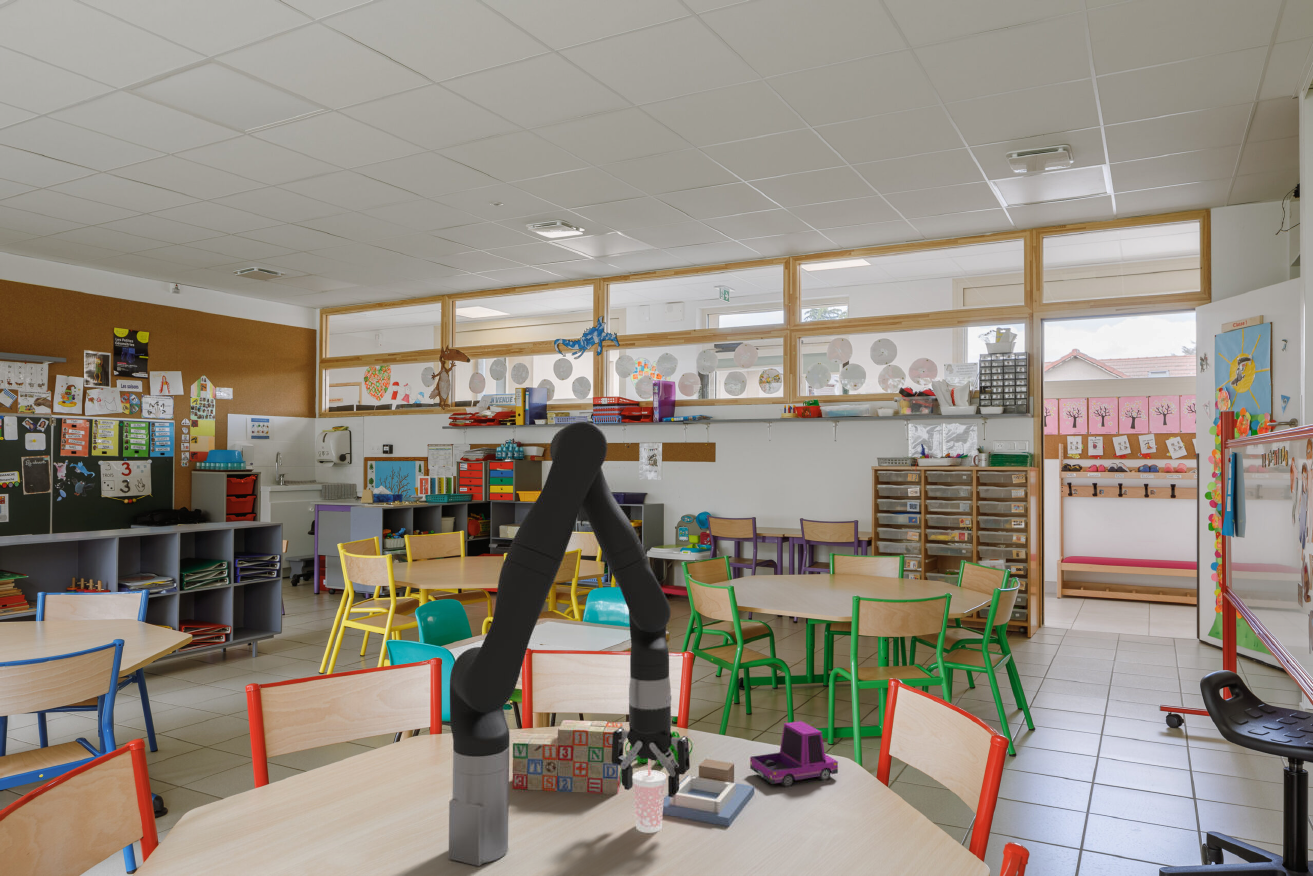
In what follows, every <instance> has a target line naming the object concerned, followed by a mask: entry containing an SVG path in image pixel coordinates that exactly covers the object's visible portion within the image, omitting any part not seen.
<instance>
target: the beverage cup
mask: <svg viewBox="0 0 1313 876" xmlns="http://www.w3.org/2000/svg"><path fill="white" fill-rule="evenodd" d="M651 764H652V760H651V759H648V762H647V769H645V770H640V771H636V772H634V773H633V776H632V779H633V793H634V794H633V795H634V810H635V812H634V813H635V815H634V816H635V828H636V830H638V831H639V832H642V833H646V834H648V833H649V834H651V833H657V832H659V831H660V830H662V829H663V828H662V827H663V815H664V814H663V801H664V798H665V786H666V782H667V775H666V774H665V773H664V772H663V771H659V770H654V769H653V770H652V767H651V766H652V765H651Z"/></svg>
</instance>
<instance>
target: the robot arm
mask: <svg viewBox="0 0 1313 876" xmlns="http://www.w3.org/2000/svg"><path fill="white" fill-rule="evenodd" d="M607 453H608V442H607V438H606V436H605V434H604V432H603V431H602V429H601V428H600V427H599V426H598V425H596V424H595V423H593V422H591V421H589V422H588V421H577V422H573V423H569V425H567V426H565V427H563V428H561V429H560V430H559V431H557V433H555V435H554V436H553V438H552V440H551V442H550V447H549V455H550V458H551V461H552V463H551V465H550V468H549V471H548V475H547V478H546V480H545V483H544V485H543V488H542V489H541V492H540V493H539V495H538V497H537V499H536V500H535V502H534V504H533V505H532V506H531V508H530V510H528V513H527V514H526V515H525V517H524V519H523V520H522V523H520V525H519V527H518V528H517V531H516V533H515V535H514V537H513V539H512V540H511V541H512V542H511V543H510V546H509V549H508V551H507V553H506V556H505V558H504V560H503V563H502V566H501V570H500V573H499V576H498V582H497V583H498V584H497V588H496V590H497V591H496V597H495V606H494V611H493V617H492V620H491V623H490V627H489V629H488V631H487V633H486V635H485V638H484V640H483V641H482V642H483V643H482V645H480V646H476V647H475V646H474V647H471V648H468V649H466V650H464V652H462V653H461V654H459V655H458V657H457V658H456V659H455V661H454V662H453V665H452V667H451V672H450V677H449V721H450V722H449V723H450V731H451V734H452V735H451V736H452V740H453V741H452V743H453V745H452V746H453V747H452V796H451V797H452V799H450V800H449V805H448V806H449V807H448V811H449V813H448V860H452V861H456V862H461V863H465V864H468V865H472V866H473V865H474V866H477V867H480V866H482V865H483V864H486V863H490V862H493V861H496V860H498V859H500V858H502V857H504V856H505V855H506V853H508V850H509V813H510V812H509V811H510V810H509V805H510V804H509V803H510V802H509V800H510V799H509V798H510V797H509V795H510V789H509V788H510V728H509V725H508V723H507V720H506V716H505V711H504V706H505V705H506V704H507V703H508V702H509V701H510V699H511V697H512V696H513V694H514V692H515V689H516V687H517V684H518V682H519V681H518V680H519V678H520V674H521V670H522V667H523V663H524V660H525V657H526V653H527V651H528V650H527V649H528V647H529V644H530V640H531V637H532V635H533V632H534V629H535V627H536V625H537V623H538V620H539V618H540V615H541V614H542V610H543V608H544V606H545V603H546V600H547V598H548V596H549V594H550V591H551V588H552V587H553V584H554V582H555V580H556V578H557V574H558V572H559V569H560V568H561V564H562V562H563V560H564V558H565V554H566V551H567V549H568V547H569V543H570V540H571V537H572V534H573V531H574V528H575V525H576V522H577V520H578V516H579V513H580V510H583V513H584V515H585V517H586V519H587V521H588V523H589V525H590V528H591V530H592V532H593V534H594V537H595V539H596V541H597V544H598V545H599V547H600V551H601V552H602V554H603V557H604V560H605V561H606V564H607V566H608V568H609V570H610V572H611V574H612V577H613V578H614V580H615V582H616V583H617V584H618V586H619V588H620V592H621V594H622V597H623V599H624V601H625V604H626V606H627V610H628V619H629V620H628V622H629V634H630V659H629V661H630V662H629V667H630V669H629V672H630V673H629V675H630V676H629V679H630V680H629V684H628V723H629V724H628V725H629V726H628V727H629V730H625V729H624V728H623V726H622V727H620V728H619V729H617V730H616V731H614V732H613V740H612V760H611V761H612V763H613V764H618V765H619V766H620V767H621V769H622V782H621V786H623V788H624V790H626V791H629V790H630V789H632V788H633V787H634V783H633V779H632V776H633V774H634V773H633V768H634V767H633V765H632V763H633V762H634V761H635V759H637V756H639V757H640V758H641V759H647V758H648V759H651V761H653V762H657V760H659V761H660V763H661V765H660V766H664V767H663V768H665V769H666V771H667V773H668V774H669V775H668V776H667V778H668V780H667V784H668V787H667V788H668V789H667V791H668V793H667V795H668V796H669V797H674V796H675V795H676V793H677V792H678V791H679V783H680V775H681V776H683V775H685V774H686V773H687V771H689V770H690V768H691V763H690V762H691V761H690V754H689V752H690V750H689V749H690V747H689V740H688V739H689V738H688V736H686V735H683V736H681V737H682V738H677V737H673V736H672V734H671V732H672V731H671V730H672V729H671V728H672V695H671V694H672V693H671V692H672V688H671V682H670V652H669V648H668V647H669V646H668V644H667V624H668V623H669V622H670V621H669V620H670V618H671V606H670V603H669V600H668V599H667V596H666V595H665V592H664V591H663V589H662V587H661V585H660V583H659V581H658V579H657V576H656V575H655V574H654V572H653V570H652V567H651V564H650V561H649V558H648V555H647V554H646V551H645V549H644V547H643V544H642V543H641V540H640V538H639V535H638V534H637V532H636V530H635V528H634V526H633V524H632V523H631V521H630V519H629V518H628V516H627V515H626V513H625V512H624V510H623V509H622V507H621V506H620V504H619V503H618V502H617V500H616V497H614V495H613V493H612V490H611V489H610V486H609V485H608V483H607V480H606V478H605V475H604V472H603V469H602V466H603V464H604V462H605V460H606V457H607ZM626 740H628V741H629V744H630V745H631V746H632V747H633V748H632V749H631V750H630V749H629V752H627V754H626V756H624V749H625V747H624V746H625V742H626ZM628 741H627V742H628ZM672 744H673V745H674V747H675V750H676V751H677V752H678V761H676V760H675V757H674V755H673V750H672V751H671V750H670V748H669V747H670V746H671V745H672ZM664 754H665V755H664ZM665 756H666V757H665Z"/></svg>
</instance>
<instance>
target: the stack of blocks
mask: <svg viewBox="0 0 1313 876" xmlns="http://www.w3.org/2000/svg"><path fill="white" fill-rule="evenodd" d="M620 727H622V728H623V723H622V722H614V721H613V722H611V721H609V722H608V721H606V720H604V721H603V720H592V721H591V720H573V719H572V720H571V719H569V720H567V719H563V720H562V722H561V724H560V726H559V727H558V729H557V734H550V733H548V734H547V733H528V732H527V733H525V732H524V733H523V732H520V733H519V734H518V736H516V738H515V740H514V741H513V742H512V780H511V781H512V783H511V786H512V789H514V790H515V789H517V790H528V791H545V792H546V791H549V792H550V791H551V792H566V793H567V792H571V793H572V792H573V793H588V794H608V795H618V793H619V790H620V788H621V786H622V769H621V767H620V766H619V765H618V764H613V763H612V761H611V760H612V740H613V732H614V731H616V730H617V729H619V728H620Z"/></svg>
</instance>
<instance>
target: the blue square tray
mask: <svg viewBox="0 0 1313 876" xmlns="http://www.w3.org/2000/svg"><path fill="white" fill-rule="evenodd" d="M754 795H755V785H749V784H743V783H739V782H735V763H733V762H729V761H727V762H726V761H721V760H714V759H707V758H705V759H704V760H703V761H701V763H700V764H699V765H698V776H695V775H686V776H685V777H684V778H683V779H682V780H681V781H679V791H678V792H677V793H676V795H675V796H674V797H669V796H668V794H667V795H665V796H664V801H663V815H665V816H671V817H676V818H682V819H687V820H692V821H698V822H703V823H707V824H714V825H718V826H725V827H730V826H731V824H732V823H733V822H734V821H735V819H736V818H737V817H738V815H739V814H740V813H741V812H742V811H743V809H744V808H745V806H746V805H747V804H748V803H749V802H750V800H751V799H752V798H753V796H754Z"/></svg>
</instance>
